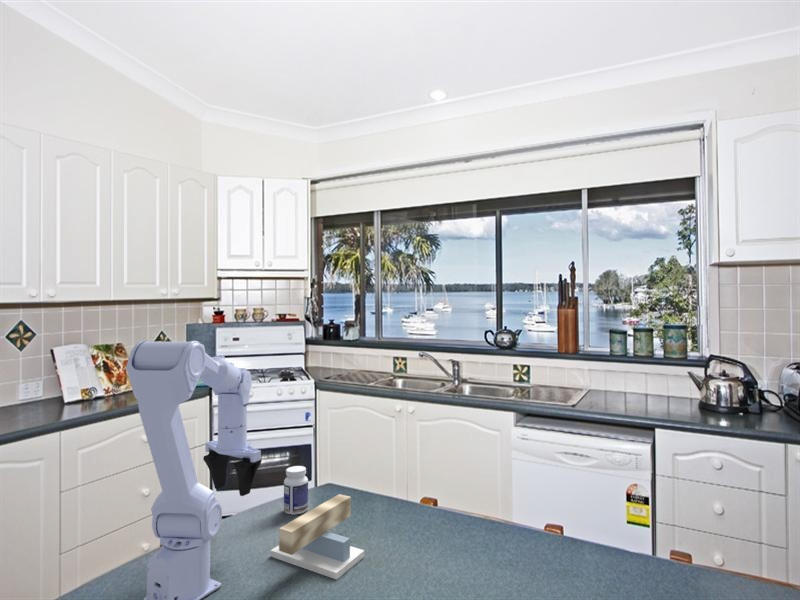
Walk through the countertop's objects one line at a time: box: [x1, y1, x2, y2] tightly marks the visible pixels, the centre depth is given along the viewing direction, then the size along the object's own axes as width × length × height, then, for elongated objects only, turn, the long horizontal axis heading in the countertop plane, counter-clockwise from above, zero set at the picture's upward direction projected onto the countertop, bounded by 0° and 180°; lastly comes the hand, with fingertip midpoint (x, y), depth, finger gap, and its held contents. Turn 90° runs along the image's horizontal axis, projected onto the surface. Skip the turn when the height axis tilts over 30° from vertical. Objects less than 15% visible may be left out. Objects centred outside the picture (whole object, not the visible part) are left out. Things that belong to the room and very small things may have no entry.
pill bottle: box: [283, 465, 309, 516], centre depth 114 cm, size 6×6×10 cm
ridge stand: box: [270, 531, 366, 580], centre depth 93 cm, size 9×16×5 cm, turn 61°
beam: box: [278, 493, 352, 555], centre depth 93 cm, size 18×3×4 cm, turn 151°
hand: (232, 490), depth 99 cm, fingers open, 7 cm apart
